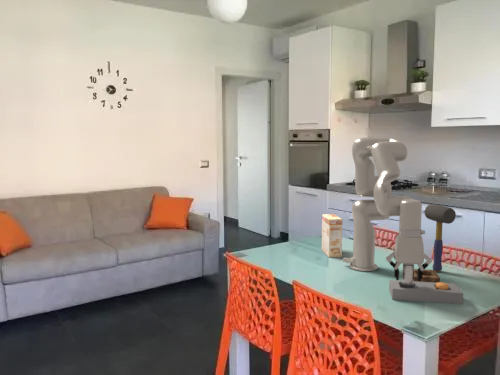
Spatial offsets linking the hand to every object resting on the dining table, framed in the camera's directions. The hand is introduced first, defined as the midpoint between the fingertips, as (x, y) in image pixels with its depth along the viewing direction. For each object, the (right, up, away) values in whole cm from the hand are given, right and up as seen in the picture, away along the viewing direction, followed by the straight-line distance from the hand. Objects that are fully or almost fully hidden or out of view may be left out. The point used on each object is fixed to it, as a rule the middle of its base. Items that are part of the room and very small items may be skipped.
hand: (408, 279), depth 161 cm
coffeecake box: (-17, 0, +63) cm, 65 cm away
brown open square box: (+10, -6, +12) cm, 17 cm away
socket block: (+6, -7, 0) cm, 9 cm away
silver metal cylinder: (0, -6, +1) cm, 6 cm away
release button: (+12, -6, -2) cm, 13 cm away
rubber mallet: (+25, -3, +32) cm, 41 cm away
